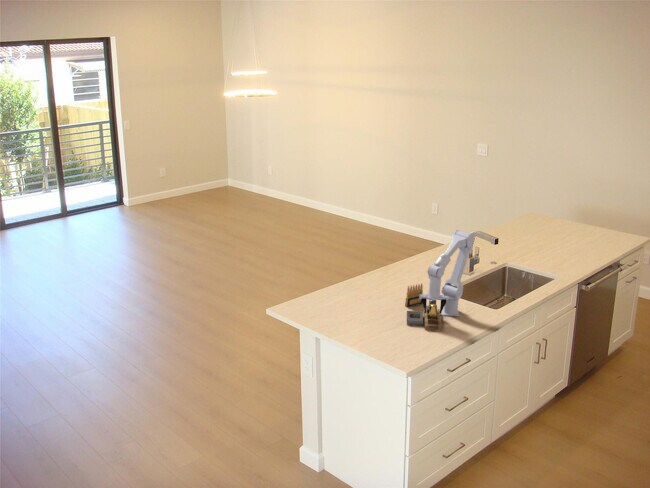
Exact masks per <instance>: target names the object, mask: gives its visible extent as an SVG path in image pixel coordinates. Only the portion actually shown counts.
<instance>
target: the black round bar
mask: <svg viewBox="0 0 650 488" xmlns="http://www.w3.org/2000/svg"><path fill="white" fill-rule="evenodd" d="M428 300H429V301H428V309H429V310H430V304H436V305H437V300H430V299H428ZM428 314H429V313H428Z"/></svg>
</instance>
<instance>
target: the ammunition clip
mask: <svg viewBox="0 0 650 488" xmlns="http://www.w3.org/2000/svg"><path fill="white" fill-rule="evenodd" d="M423 288H424V287H423V283H418V284H413V286H412V285H410V286H409V285H408V286H407V291H406V297H405V303H404V304H405V305H404V307H405V308H411V307H416V306H419V305H423V304H422V299H419V296H420V295H423V294H424V293H423Z"/></svg>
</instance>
